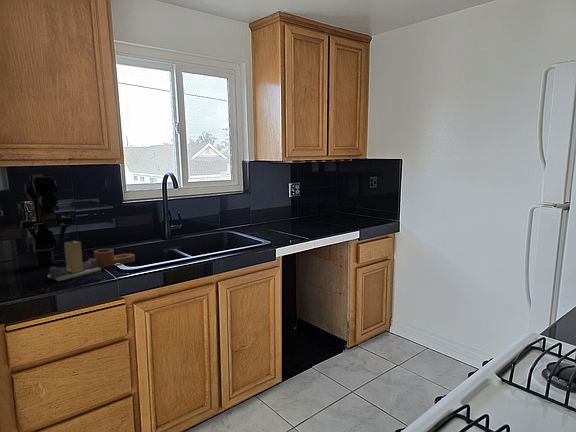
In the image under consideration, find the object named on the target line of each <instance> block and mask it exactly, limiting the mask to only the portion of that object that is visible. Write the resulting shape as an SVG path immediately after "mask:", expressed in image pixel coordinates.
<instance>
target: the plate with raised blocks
mask: <svg viewBox="0 0 576 432" xmlns="http://www.w3.org/2000/svg"><path fill="white" fill-rule="evenodd" d="M101 271H102V268H99V267H98V260H96V259H94V257H93V258H88V259H87V261H84V262H83V271H80V272H75V273H70V272H67V269H66V266H62V267H57V266H52V267H51V266H50V267H49V273H48V274H47V278H48V279H51V280H55V281H57V282H61V281H65V280H69V279H72V278H73V279H74V278H77V277H80V276H85V275H88V274H92V273H97V272H101Z"/></svg>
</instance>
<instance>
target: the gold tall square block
mask: <svg viewBox="0 0 576 432" xmlns="http://www.w3.org/2000/svg"><path fill="white" fill-rule="evenodd" d="M63 244H64V246H63V247H64V256H65V267H66V269H67V272H70V273H75V272H80V271H83V252H82V242H81V241H78V240H71V241H64V243H63Z"/></svg>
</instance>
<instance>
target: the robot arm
mask: <svg viewBox="0 0 576 432" xmlns="http://www.w3.org/2000/svg"><path fill="white" fill-rule="evenodd" d="M58 190H59V189H58V185H57V182H56V181H55V178H53V176H51V175H49V176H46V175H45V176H44V174H42V173H32V174H29V178H28V179H27V180H25V182H24V192H25V193H24V194H25V195H26V196H27V199H28V200H29V201H30V202H31V203H32V206H33V212H34V217H35V221H33V220H32V219H26V220H25V219H24V220H23V219H22V220H21V221H20V228H21V229H23V230H25V231H28V232H29V233H30V235H31V236H32V238H33V244H32V245H33V246H32V248H33V249H32V250H33V252H34V254H35V255H36V254H37V260H36V261H37V264H35V265H34V267H35V266H36V267H51V266H52V265H55V264H57V263H58V261H55V257H54V252H56V251H58V240H57V239H56V237H55V236H54V233H53V231H52V230H50V229H49V226H56V225H57V224H59V234H60V235H59V237H60V238H59V239H60V242H63V238H64V237H65V233H66V230H67V228H68V227H71V225H73V224H74V218H73V217H72V216H62V212H55V207H56V206H57V205H58V198H57V197H56V196H55V195H54V193H58ZM35 227H36V229H37V230H35ZM36 231H37V232H36Z"/></svg>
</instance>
